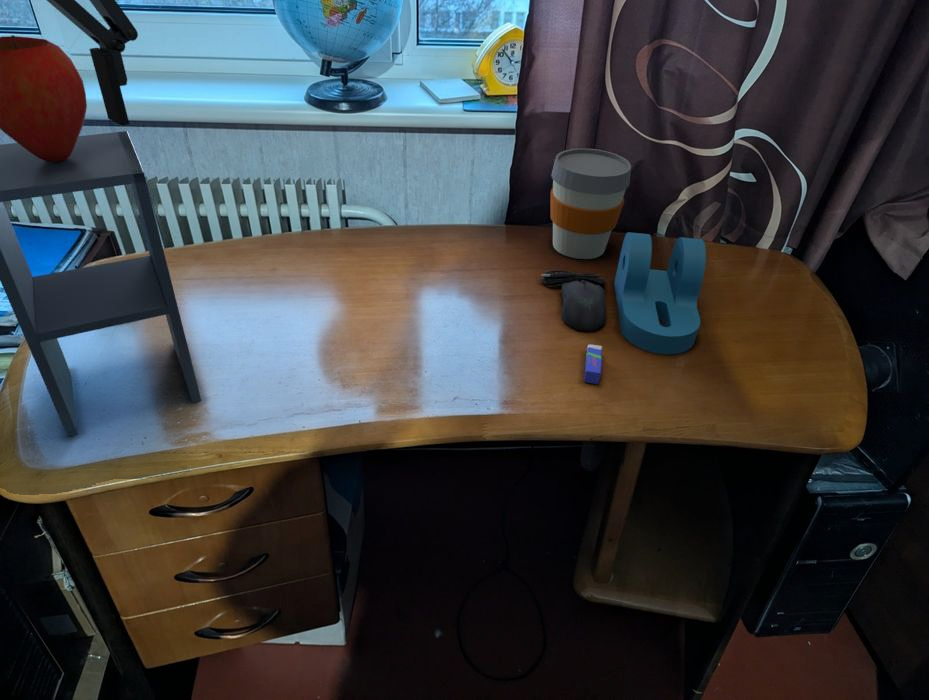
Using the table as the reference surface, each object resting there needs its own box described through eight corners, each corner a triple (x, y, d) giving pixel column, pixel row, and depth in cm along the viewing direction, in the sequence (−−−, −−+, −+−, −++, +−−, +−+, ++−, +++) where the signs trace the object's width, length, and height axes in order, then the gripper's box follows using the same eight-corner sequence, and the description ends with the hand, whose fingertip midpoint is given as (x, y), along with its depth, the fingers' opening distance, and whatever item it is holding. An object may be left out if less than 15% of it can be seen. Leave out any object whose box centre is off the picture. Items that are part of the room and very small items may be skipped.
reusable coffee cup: (630, 250, 113) (649, 166, 104) (581, 272, 106) (597, 183, 97) (575, 223, 120) (589, 142, 112) (527, 242, 114) (537, 157, 105)
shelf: (201, 400, 77) (143, 171, 61) (67, 437, 72) (-37, 195, 55) (182, 345, 86) (127, 130, 69) (61, 374, 80) (-32, 147, 63)
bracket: (614, 282, 104) (627, 221, 98) (681, 289, 103) (699, 228, 97) (622, 349, 90) (638, 283, 83) (700, 358, 89) (722, 292, 83)
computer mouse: (549, 331, 92) (553, 308, 90) (539, 278, 104) (542, 257, 102) (621, 334, 93) (626, 311, 90) (602, 280, 104) (607, 259, 102)
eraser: (600, 357, 88) (603, 345, 87) (598, 385, 83) (601, 373, 82) (585, 355, 88) (588, 343, 87) (582, 382, 84) (585, 370, 82)
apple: (-13, 157, 62) (-63, 31, 55) (80, 137, 67) (44, 20, 60) (23, 185, 57) (-26, 51, 51) (120, 161, 62) (86, 37, 56)
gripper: (96, -147, 58) (153, 101, 70) (-295, -165, 42) (-131, 159, 55) (140, -143, 54) (192, 118, 67) (-270, -161, 38) (-100, 186, 51)
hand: (47, 137), depth 61 cm, fingers open, 13 cm apart
